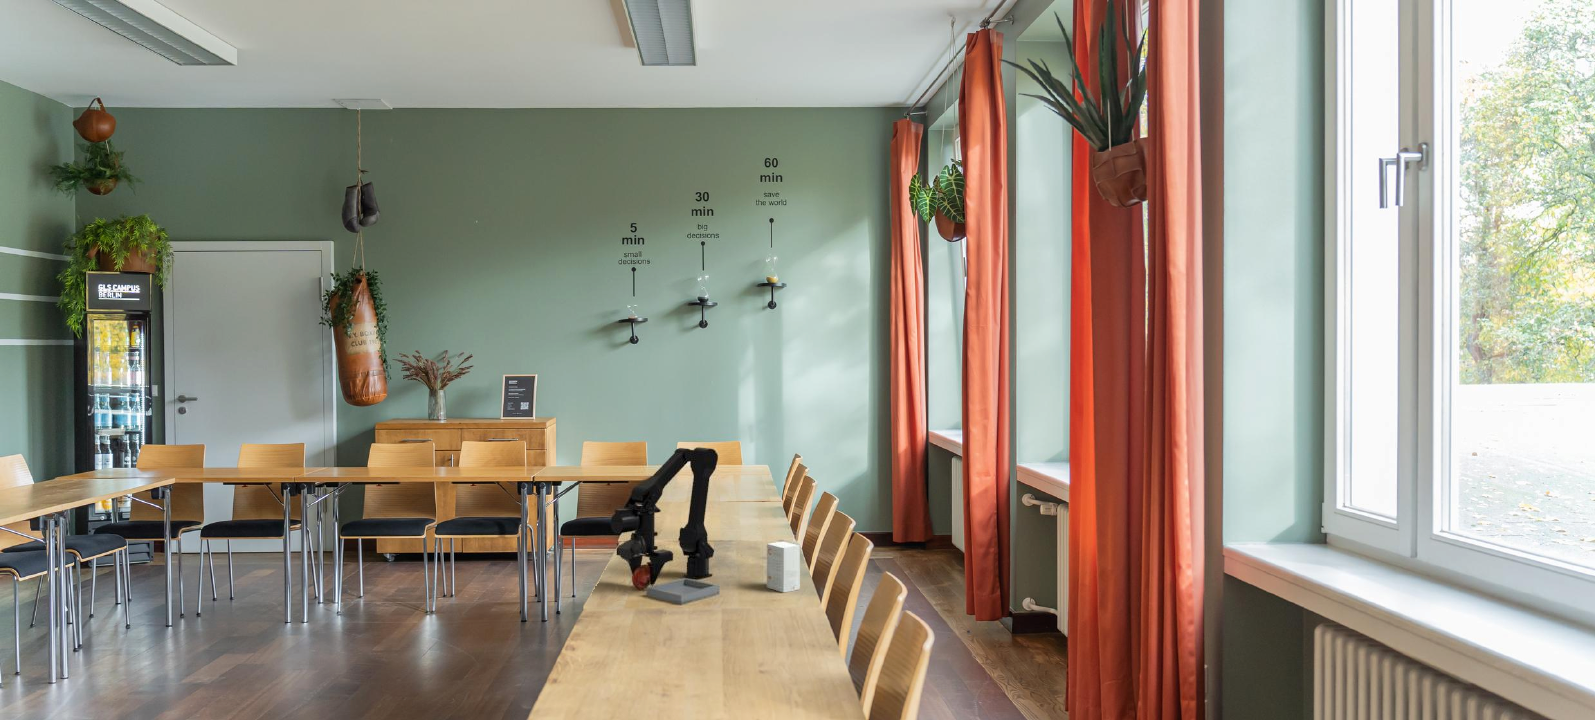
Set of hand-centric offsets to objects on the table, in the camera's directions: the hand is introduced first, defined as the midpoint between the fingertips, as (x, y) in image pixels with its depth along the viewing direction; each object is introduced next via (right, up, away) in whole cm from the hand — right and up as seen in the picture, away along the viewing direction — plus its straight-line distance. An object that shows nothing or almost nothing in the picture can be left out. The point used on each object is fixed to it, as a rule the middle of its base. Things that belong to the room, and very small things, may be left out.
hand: (644, 582), depth 274 cm
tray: (+12, -2, -7) cm, 14 cm away
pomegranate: (0, -2, 0) cm, 2 cm away
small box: (+41, -2, +1) cm, 41 cm away
